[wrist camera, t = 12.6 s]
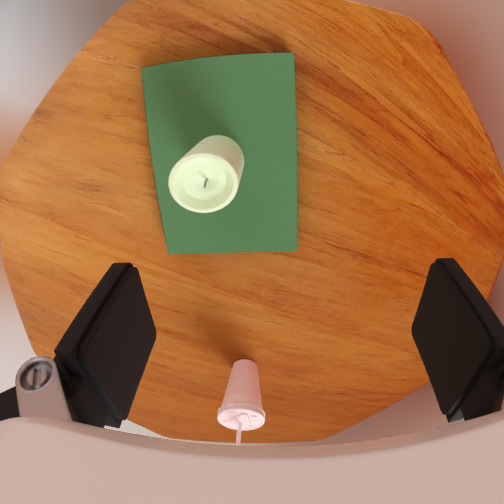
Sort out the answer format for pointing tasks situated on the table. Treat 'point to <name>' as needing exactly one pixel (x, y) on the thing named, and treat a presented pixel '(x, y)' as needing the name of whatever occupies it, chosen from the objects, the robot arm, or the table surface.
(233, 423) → the smoothie
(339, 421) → the table surface
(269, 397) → the table surface
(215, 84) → the foam
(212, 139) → the candle
